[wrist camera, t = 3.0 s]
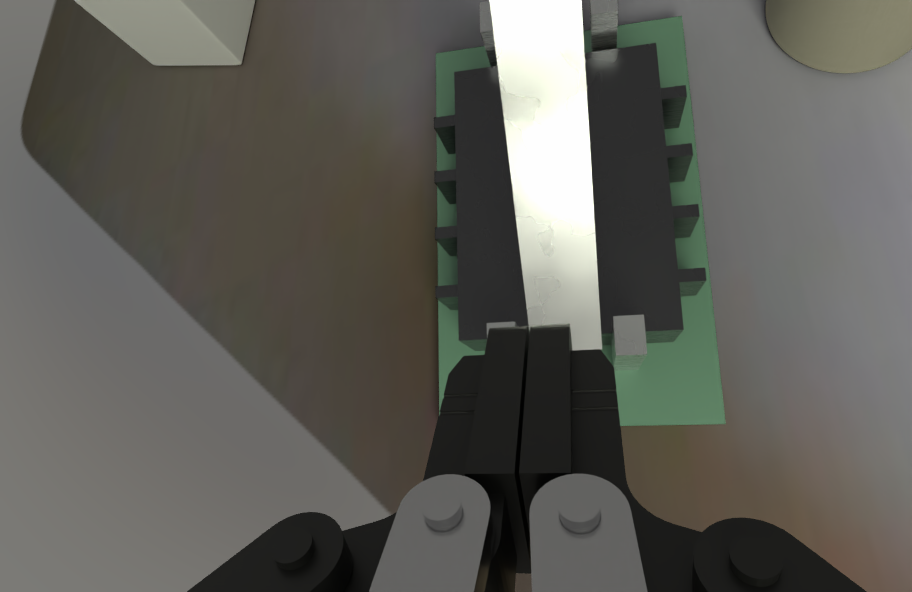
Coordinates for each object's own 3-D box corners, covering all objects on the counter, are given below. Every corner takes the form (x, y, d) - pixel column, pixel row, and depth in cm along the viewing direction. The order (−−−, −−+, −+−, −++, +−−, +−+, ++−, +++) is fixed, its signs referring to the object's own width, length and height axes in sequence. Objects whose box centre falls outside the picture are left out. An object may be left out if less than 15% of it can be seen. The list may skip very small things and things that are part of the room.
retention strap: (601, 336, 27) (602, 349, 26) (533, 340, 28) (532, 352, 27) (577, -64, 20) (577, -65, 20) (487, -47, 21) (483, -47, 20)
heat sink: (449, 80, 37) (417, 7, 30) (669, 48, 34) (685, -39, 28) (453, 376, 33) (418, 363, 26) (702, 367, 30) (728, 350, 24)
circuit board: (440, 64, 38) (435, 53, 37) (679, 29, 35) (681, 15, 34) (444, 429, 34) (439, 429, 32) (720, 424, 31) (725, 423, 29)
